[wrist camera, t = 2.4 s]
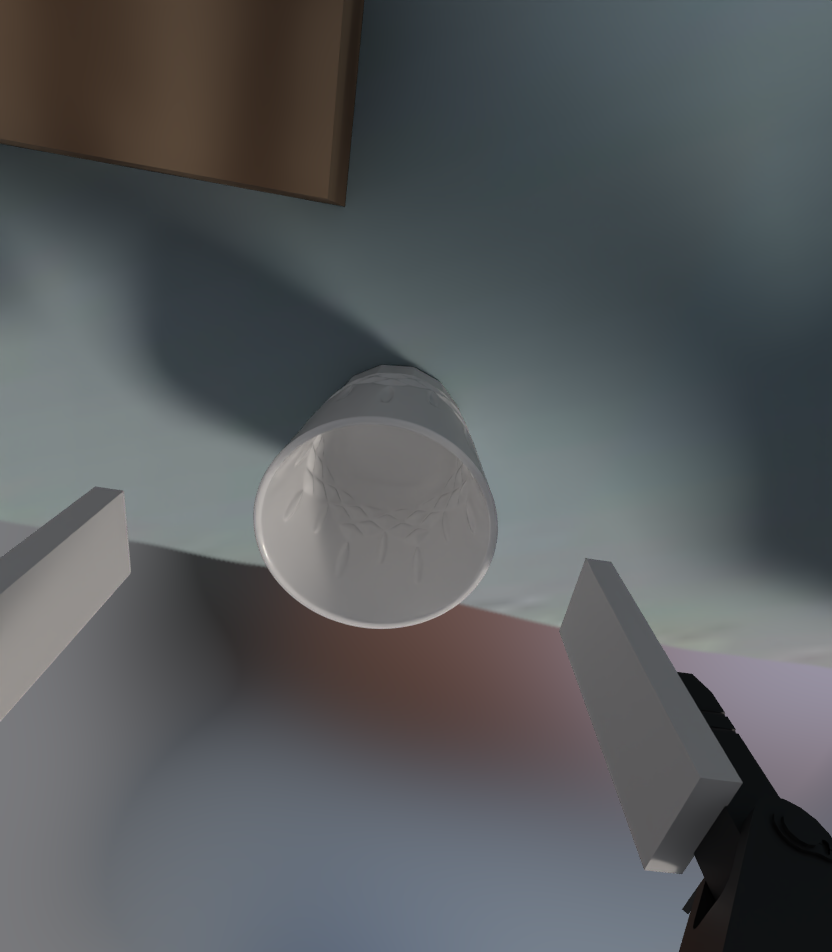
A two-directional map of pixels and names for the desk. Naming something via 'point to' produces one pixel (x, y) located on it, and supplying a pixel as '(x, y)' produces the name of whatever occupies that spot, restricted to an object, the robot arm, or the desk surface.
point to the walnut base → (188, 87)
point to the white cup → (379, 504)
